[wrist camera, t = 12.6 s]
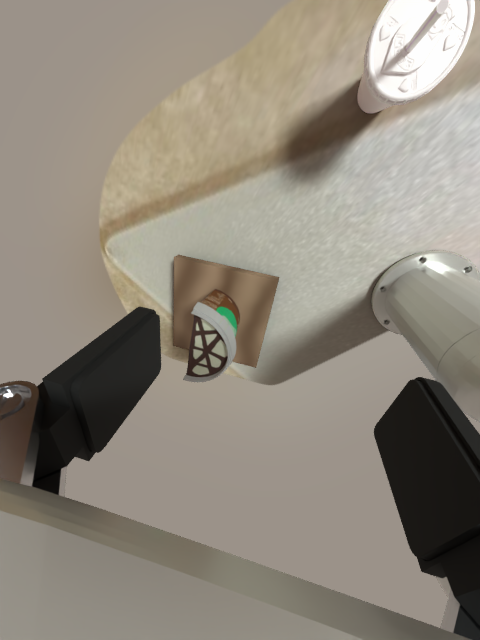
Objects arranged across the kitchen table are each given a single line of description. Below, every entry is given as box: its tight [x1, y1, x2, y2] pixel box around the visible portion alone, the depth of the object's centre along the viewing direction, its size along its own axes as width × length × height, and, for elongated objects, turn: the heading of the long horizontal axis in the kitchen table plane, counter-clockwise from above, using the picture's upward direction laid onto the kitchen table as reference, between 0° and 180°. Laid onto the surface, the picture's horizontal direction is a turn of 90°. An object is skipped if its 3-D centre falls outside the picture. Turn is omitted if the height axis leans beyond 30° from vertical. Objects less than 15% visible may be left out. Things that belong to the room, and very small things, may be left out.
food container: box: [183, 289, 240, 382], centre depth 34 cm, size 12×6×10 cm, turn 168°
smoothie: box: [357, 0, 475, 113], centre depth 18 cm, size 6×6×14 cm
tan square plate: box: [173, 255, 279, 368], centre depth 40 cm, size 16×17×3 cm
